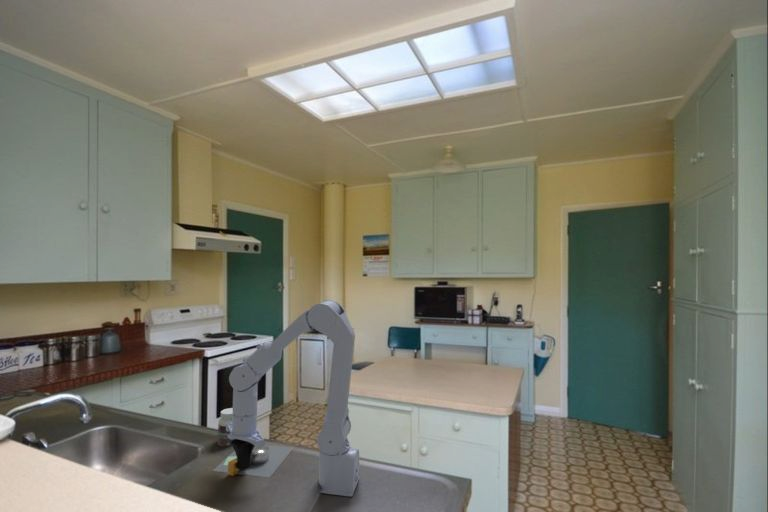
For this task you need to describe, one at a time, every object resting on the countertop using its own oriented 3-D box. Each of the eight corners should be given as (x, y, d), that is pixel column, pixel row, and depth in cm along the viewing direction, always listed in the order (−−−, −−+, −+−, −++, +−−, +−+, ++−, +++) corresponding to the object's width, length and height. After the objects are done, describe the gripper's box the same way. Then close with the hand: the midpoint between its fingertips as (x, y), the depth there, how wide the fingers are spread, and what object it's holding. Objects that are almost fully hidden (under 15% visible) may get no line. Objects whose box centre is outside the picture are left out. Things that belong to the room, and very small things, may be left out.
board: (293, 452, 109) (293, 447, 109) (269, 482, 94) (269, 477, 94) (243, 447, 111) (243, 442, 111) (212, 475, 97) (212, 470, 97)
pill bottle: (213, 447, 111) (214, 412, 111) (229, 439, 116) (230, 405, 116) (227, 452, 108) (228, 416, 108) (243, 443, 113) (244, 409, 113)
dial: (273, 457, 103) (273, 446, 103) (238, 479, 93) (238, 466, 93) (258, 452, 106) (258, 441, 106) (222, 472, 96) (222, 460, 96)
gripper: (214, 409, 98) (213, 463, 98) (245, 426, 88) (244, 486, 88) (241, 401, 103) (239, 453, 103) (272, 417, 94) (271, 474, 94)
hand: (243, 468), depth 96 cm, fingers closed, pressing on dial
